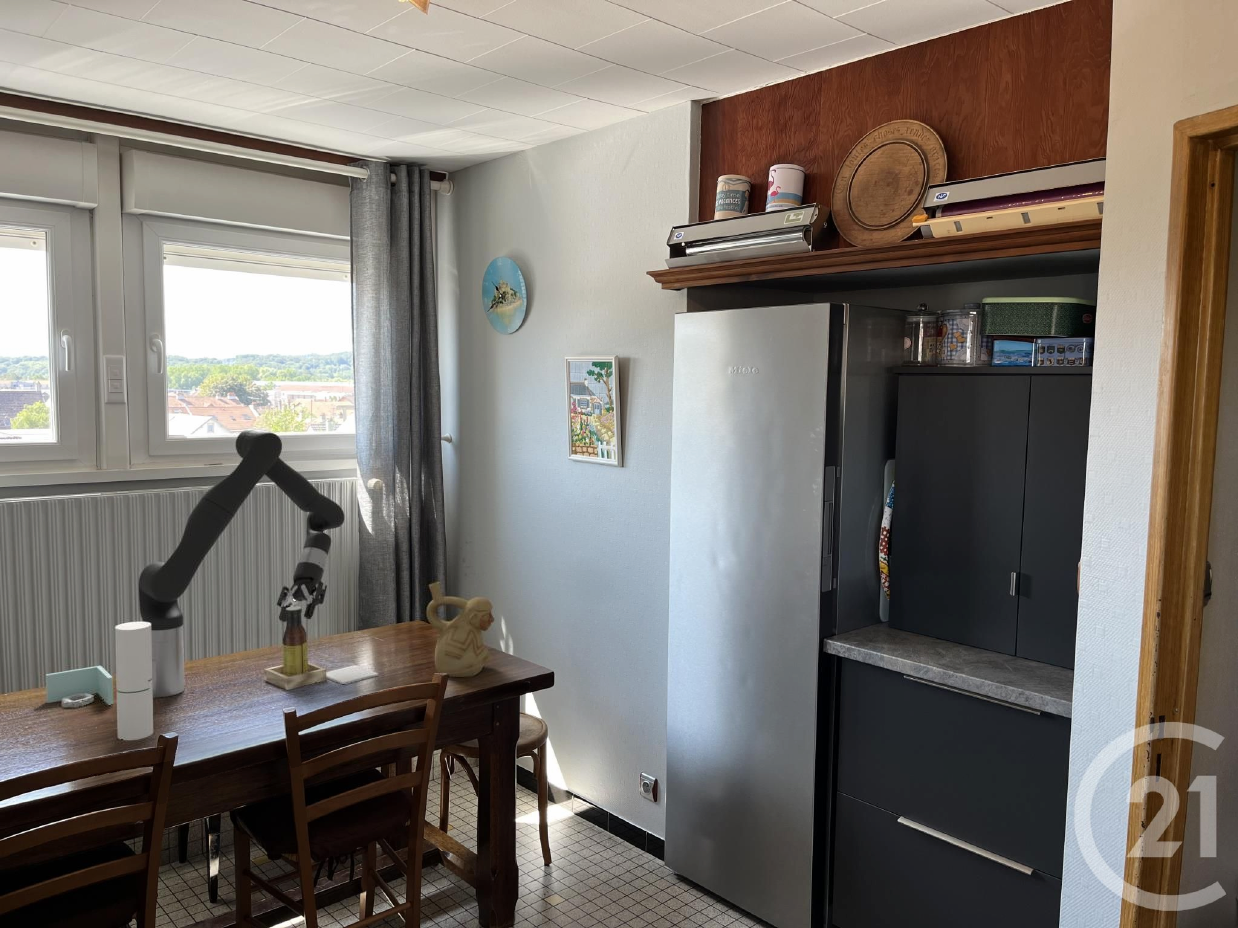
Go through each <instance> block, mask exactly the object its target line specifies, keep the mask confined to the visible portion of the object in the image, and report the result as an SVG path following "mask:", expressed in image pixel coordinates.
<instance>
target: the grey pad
mask: <svg viewBox="0 0 1238 928" xmlns="http://www.w3.org/2000/svg"><path fill="white" fill-rule="evenodd" d="M378 676H379V673H378V672H375V671H372V670H370V669H367V668H364V667H361V666H358V665H356V664H354V665H350V666H347V667H346V666H345V667H342V668H338V669H334V670H329V671H326V680H329V679H330V681H332V682H335V683H337V682H338V683H337V684H340V685H342V684H345V685H349V684H352V683H356V682H359V681H363V680H362V679H364V680H367V679H370V678H374V677H378ZM355 681H356V682H355ZM351 682H352V683H351Z"/></svg>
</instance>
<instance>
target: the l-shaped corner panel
mask: <svg viewBox="0 0 1238 928" xmlns="http://www.w3.org/2000/svg"><path fill="white" fill-rule="evenodd" d="M45 680H46V681H45V685H46V689H45V690H46V703H47V704H49V703H54V702H55V703H56V702H60V701H61V704H60V705H61V708H80V707H85V706H86V704H87V705H89V704H90V703H93V701H95V699H94V697H95V694H94V693H98V694H99V695H100V696H101V697H102V698H101V697H100V696H99V695H98V694H97V695H98V696H99V697H100V698H101V699H102V700H103V699H104V700H103V702H104V703H105V702H106V703H107V704H108V705H111V704H113V705H114V677H113V676H112V675H111V674H110V673H109V672H108V671H107V670H106V669H105V668H104V667H103V666H102V665H96V666H90V667H84V668H77V669H70V670H64V671H60V672H53V673H47V674H45ZM91 694H94V695H91ZM82 700H83V701H82ZM106 703H105V704H106ZM107 704H106V705H107ZM84 705H85V706H84ZM108 705H107V706H108ZM79 706H80V707H79ZM111 706H112V705H111Z"/></svg>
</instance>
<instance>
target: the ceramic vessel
mask: <svg viewBox="0 0 1238 928" xmlns="http://www.w3.org/2000/svg"><path fill="white" fill-rule="evenodd" d="M440 584H441V583H440V582H439V581H437V582H433V583H432V582H431V583H430V584H428V587H429V590H430V592H431V596H432V600H431V601H430V602H429V603H428V605H427V607H426V611H425V613H426V618H427V620H428V622H429V623H430V625H431V626H432V627H434V629H437V630H439V631H441V633H440V634H439V636H438V638H437V641H436V645H435V649H434V664H435V669H436V671H437V673H438V674H440V673H447V674H448V675H449V676H448V677H451V678H453V677H454V678H466V677H475V676H476V675H478V674H479V673H480V672H481V671H482V670H483V667H484V666H485V665H486V664H487V663H488V661H489V659H490V652H489V649H488V648H487V647H486V646H485V645H484V638H483V632H487V631H488V629H489V628H490V627H491V626H492V623H494V622H495V618H494V616H493V613H492V609H493V604H492V603H491V602H490V601H489V600H488V599H486V598H485V597H482V596H481V597H480V596H477V597H472V598H471V599H469V600H467V599H465V598H461V597H457V596H443V594H442V590H441V585H440ZM443 606H455V607H458V608H459V609H461V611H460V613H459V614H458V615H456V616H455V618H453V619H452V620H450V621H446V620H443V619H441V618H440V617H438V615H437V609H438V608H439V607H443Z"/></svg>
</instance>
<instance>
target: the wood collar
mask: <svg viewBox="0 0 1238 928" xmlns="http://www.w3.org/2000/svg"><path fill="white" fill-rule="evenodd" d="M263 670H264V681H266V682H268V683H271V684H272V685H274V686H276V687H279V688H281V689H284V690H287V691H288V690H293V689H297V688H301V687H304V685H305V686H308V685H309V686H310V685H312V684H316V683H315V682H317V683H319V682H320V683H321V682H324V681H327V678H326V672H327V668H325V667H322V666H319V665H316V664H314V663H312V662H309V661H308V672H307V673H303V674H299V675H295V676H291V677H288V676H285V675H284V666H283V664H281V665H277V666H273V667H269V668H265V669H263Z"/></svg>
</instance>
